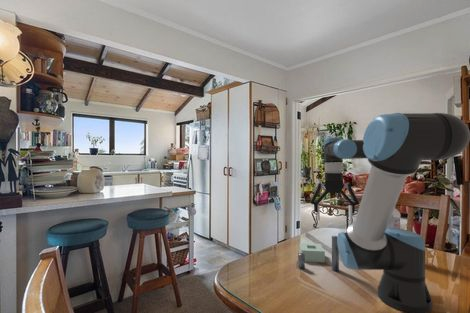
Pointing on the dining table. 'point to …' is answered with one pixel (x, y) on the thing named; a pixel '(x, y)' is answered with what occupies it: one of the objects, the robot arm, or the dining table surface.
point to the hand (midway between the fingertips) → (334, 220)
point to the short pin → (301, 260)
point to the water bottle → (395, 219)
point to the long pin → (335, 254)
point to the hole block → (312, 252)
